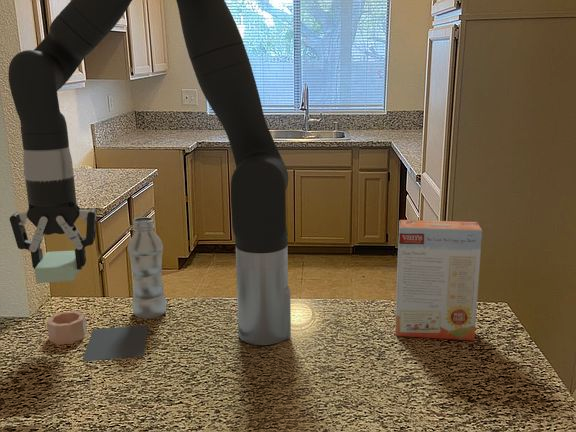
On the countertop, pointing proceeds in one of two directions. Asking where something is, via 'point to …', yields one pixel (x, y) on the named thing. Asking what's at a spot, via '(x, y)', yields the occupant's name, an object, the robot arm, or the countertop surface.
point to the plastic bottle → (146, 270)
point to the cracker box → (437, 279)
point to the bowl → (66, 327)
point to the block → (57, 267)
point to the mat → (116, 343)
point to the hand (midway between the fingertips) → (60, 269)
